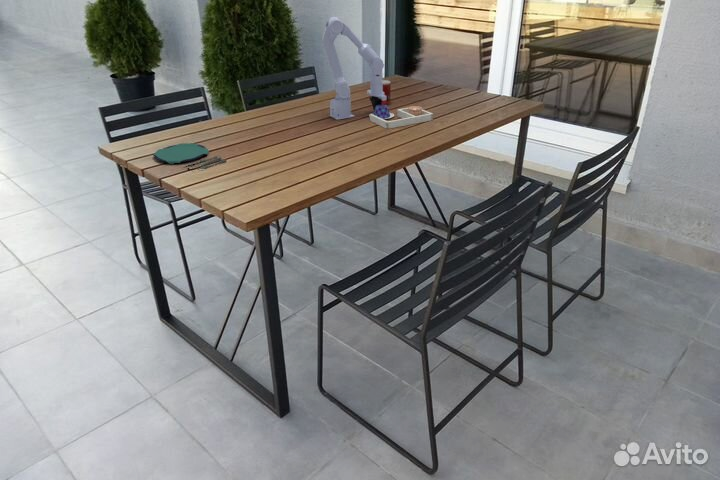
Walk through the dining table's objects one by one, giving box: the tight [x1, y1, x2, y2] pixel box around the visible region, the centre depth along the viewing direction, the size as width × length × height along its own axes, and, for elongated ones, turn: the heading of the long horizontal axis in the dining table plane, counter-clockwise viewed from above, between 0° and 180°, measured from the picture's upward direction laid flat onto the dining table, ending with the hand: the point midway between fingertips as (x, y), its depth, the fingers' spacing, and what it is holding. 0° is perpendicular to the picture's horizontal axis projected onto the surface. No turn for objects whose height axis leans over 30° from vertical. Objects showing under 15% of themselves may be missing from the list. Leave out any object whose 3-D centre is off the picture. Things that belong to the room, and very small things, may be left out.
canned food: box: [381, 79, 391, 106], centre depth 277 cm, size 8×8×11 cm
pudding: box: [368, 105, 395, 120], centre depth 257 cm, size 12×12×5 cm
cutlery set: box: [152, 142, 227, 170], centre depth 212 cm, size 20×30×2 cm, turn 46°
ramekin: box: [407, 105, 423, 116], centre depth 254 cm, size 7×7×5 cm
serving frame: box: [369, 107, 434, 130], centre depth 252 cm, size 25×15×3 cm, turn 119°
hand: (376, 112), depth 262 cm, fingers closed
